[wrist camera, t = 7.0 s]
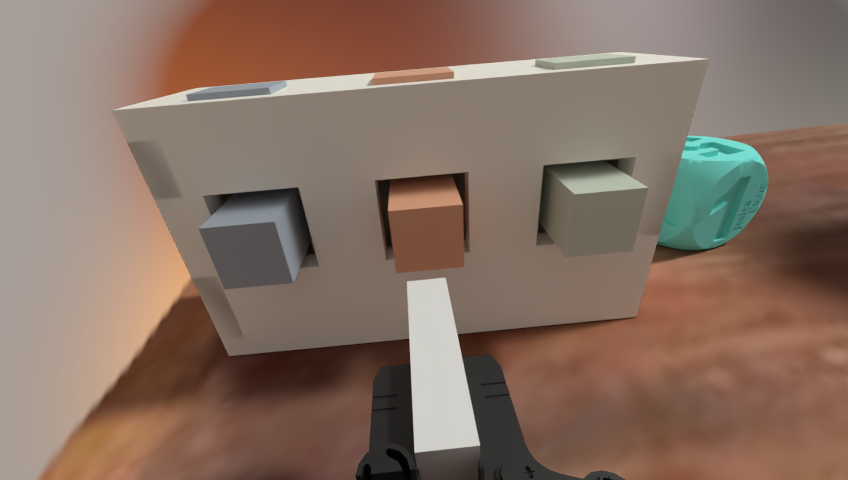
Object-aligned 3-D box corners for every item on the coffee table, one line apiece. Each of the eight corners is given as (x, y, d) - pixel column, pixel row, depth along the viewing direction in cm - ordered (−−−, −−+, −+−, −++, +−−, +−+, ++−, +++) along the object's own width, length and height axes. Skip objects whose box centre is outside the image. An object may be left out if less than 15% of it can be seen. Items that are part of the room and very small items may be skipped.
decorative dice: (679, 260, 31) (709, 168, 27) (608, 221, 37) (624, 143, 33) (748, 238, 33) (785, 150, 29) (668, 206, 39) (690, 131, 35)
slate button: (313, 236, 23) (299, 184, 22) (293, 282, 19) (274, 221, 17) (257, 242, 23) (238, 189, 22) (224, 289, 19) (198, 228, 17)
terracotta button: (452, 224, 23) (450, 170, 22) (464, 266, 19) (462, 204, 17) (396, 229, 23) (390, 175, 22) (396, 273, 19) (387, 211, 17)
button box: (584, 255, 32) (620, 47, 24) (636, 316, 25) (711, 52, 17) (266, 285, 32) (194, 83, 24) (229, 356, 25) (108, 103, 17)
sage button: (589, 211, 24) (598, 157, 22) (632, 251, 19) (648, 187, 18) (535, 216, 24) (539, 162, 22) (565, 257, 19) (574, 194, 17)
